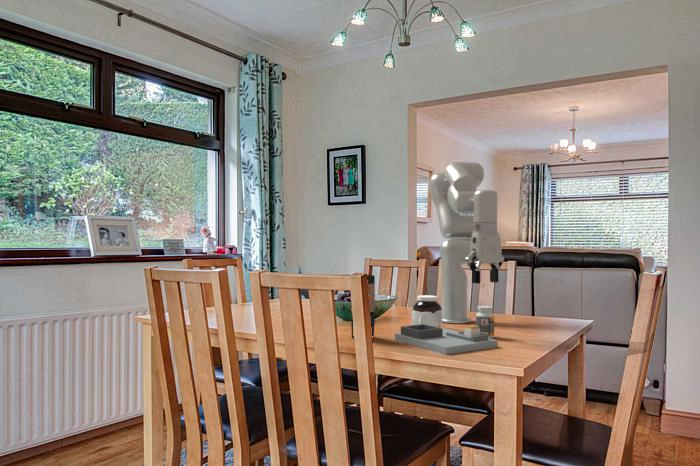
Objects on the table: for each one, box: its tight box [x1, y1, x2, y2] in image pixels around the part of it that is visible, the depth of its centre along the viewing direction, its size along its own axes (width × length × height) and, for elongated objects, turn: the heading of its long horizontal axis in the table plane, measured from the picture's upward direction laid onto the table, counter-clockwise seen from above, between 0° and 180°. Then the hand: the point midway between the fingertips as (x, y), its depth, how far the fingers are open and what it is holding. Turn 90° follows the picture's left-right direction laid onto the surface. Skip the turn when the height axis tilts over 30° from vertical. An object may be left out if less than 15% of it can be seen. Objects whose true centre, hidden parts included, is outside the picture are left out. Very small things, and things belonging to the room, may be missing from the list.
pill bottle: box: [475, 305, 495, 339], centre depth 171 cm, size 6×6×10 cm
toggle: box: [463, 324, 480, 338], centre depth 158 cm, size 3×4×4 cm
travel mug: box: [350, 274, 376, 339], centre depth 169 cm, size 8×8×20 cm
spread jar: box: [411, 294, 443, 328], centre depth 183 cm, size 12×11×12 cm
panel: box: [394, 324, 498, 355], centre depth 161 cm, size 24×20×4 cm
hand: (485, 282), depth 171 cm, fingers open, 7 cm apart
